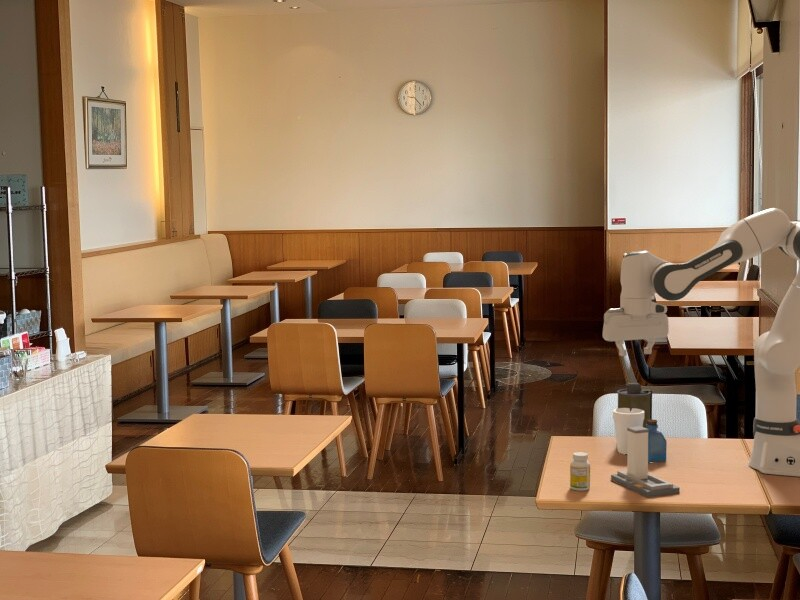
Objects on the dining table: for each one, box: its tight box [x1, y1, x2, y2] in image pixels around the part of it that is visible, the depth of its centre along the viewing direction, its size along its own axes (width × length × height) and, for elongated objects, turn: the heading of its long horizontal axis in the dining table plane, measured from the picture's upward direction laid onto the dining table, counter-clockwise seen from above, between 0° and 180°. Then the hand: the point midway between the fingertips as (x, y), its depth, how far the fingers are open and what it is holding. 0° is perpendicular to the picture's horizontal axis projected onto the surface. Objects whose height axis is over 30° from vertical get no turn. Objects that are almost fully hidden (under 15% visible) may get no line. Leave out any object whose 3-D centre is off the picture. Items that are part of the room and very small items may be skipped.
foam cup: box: [612, 407, 644, 455], centre depth 319 cm, size 10×9×13 cm
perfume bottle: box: [646, 418, 668, 463], centre depth 310 cm, size 6×6×12 cm
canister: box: [616, 382, 653, 428], centre depth 327 cm, size 11×10×20 cm
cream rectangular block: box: [626, 426, 649, 479], centre depth 285 cm, size 4×4×14 cm
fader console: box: [610, 470, 681, 498], centre depth 283 cm, size 18×10×2 cm, turn 20°
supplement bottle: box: [569, 451, 591, 492], centre depth 282 cm, size 5×5×10 cm
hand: (635, 354), depth 299 cm, fingers open, 7 cm apart
